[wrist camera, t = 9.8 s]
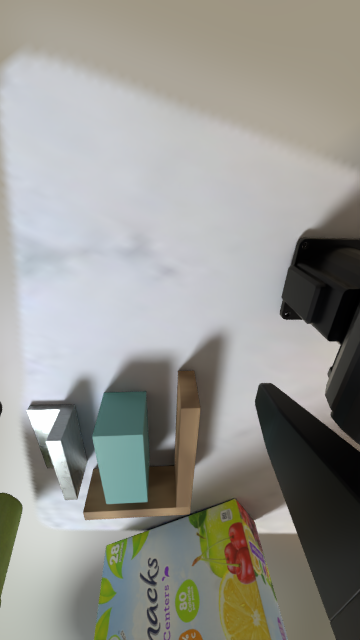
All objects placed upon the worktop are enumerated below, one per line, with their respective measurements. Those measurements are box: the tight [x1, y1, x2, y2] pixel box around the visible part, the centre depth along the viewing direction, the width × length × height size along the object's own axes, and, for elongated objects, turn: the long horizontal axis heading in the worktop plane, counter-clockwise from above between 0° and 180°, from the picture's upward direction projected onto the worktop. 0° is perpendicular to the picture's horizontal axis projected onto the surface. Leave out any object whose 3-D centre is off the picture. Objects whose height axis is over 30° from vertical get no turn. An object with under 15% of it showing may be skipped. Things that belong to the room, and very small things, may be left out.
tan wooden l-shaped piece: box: [83, 371, 201, 520], centre depth 25 cm, size 11×16×4 cm
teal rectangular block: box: [92, 391, 150, 504], centre depth 25 cm, size 4×10×5 cm, turn 179°
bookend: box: [27, 405, 87, 500], centre depth 25 cm, size 4×9×4 cm, turn 178°
